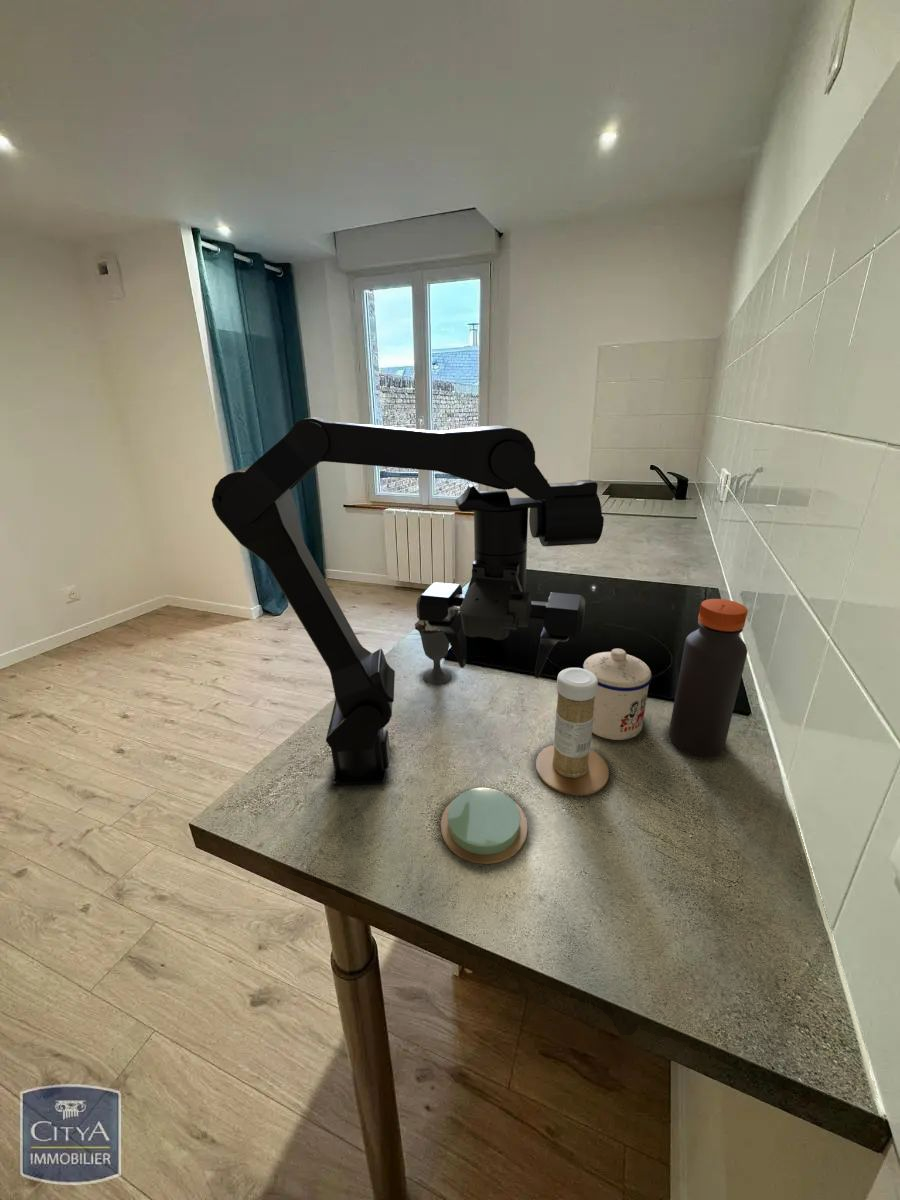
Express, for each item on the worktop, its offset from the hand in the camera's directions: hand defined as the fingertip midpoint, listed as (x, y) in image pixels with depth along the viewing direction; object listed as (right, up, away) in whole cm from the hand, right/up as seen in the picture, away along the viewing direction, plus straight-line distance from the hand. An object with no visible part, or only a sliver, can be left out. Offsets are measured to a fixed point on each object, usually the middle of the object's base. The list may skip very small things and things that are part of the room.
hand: (499, 671), depth 58 cm
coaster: (+9, -13, +2) cm, 16 cm away
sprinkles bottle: (+9, -13, +2) cm, 16 cm away
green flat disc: (-2, -16, -5) cm, 17 cm away
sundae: (-8, -5, +23) cm, 25 cm away
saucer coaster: (-2, -16, -5) cm, 17 cm away
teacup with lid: (+18, -9, +12) cm, 23 cm away
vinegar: (+27, -11, +7) cm, 30 cm away
